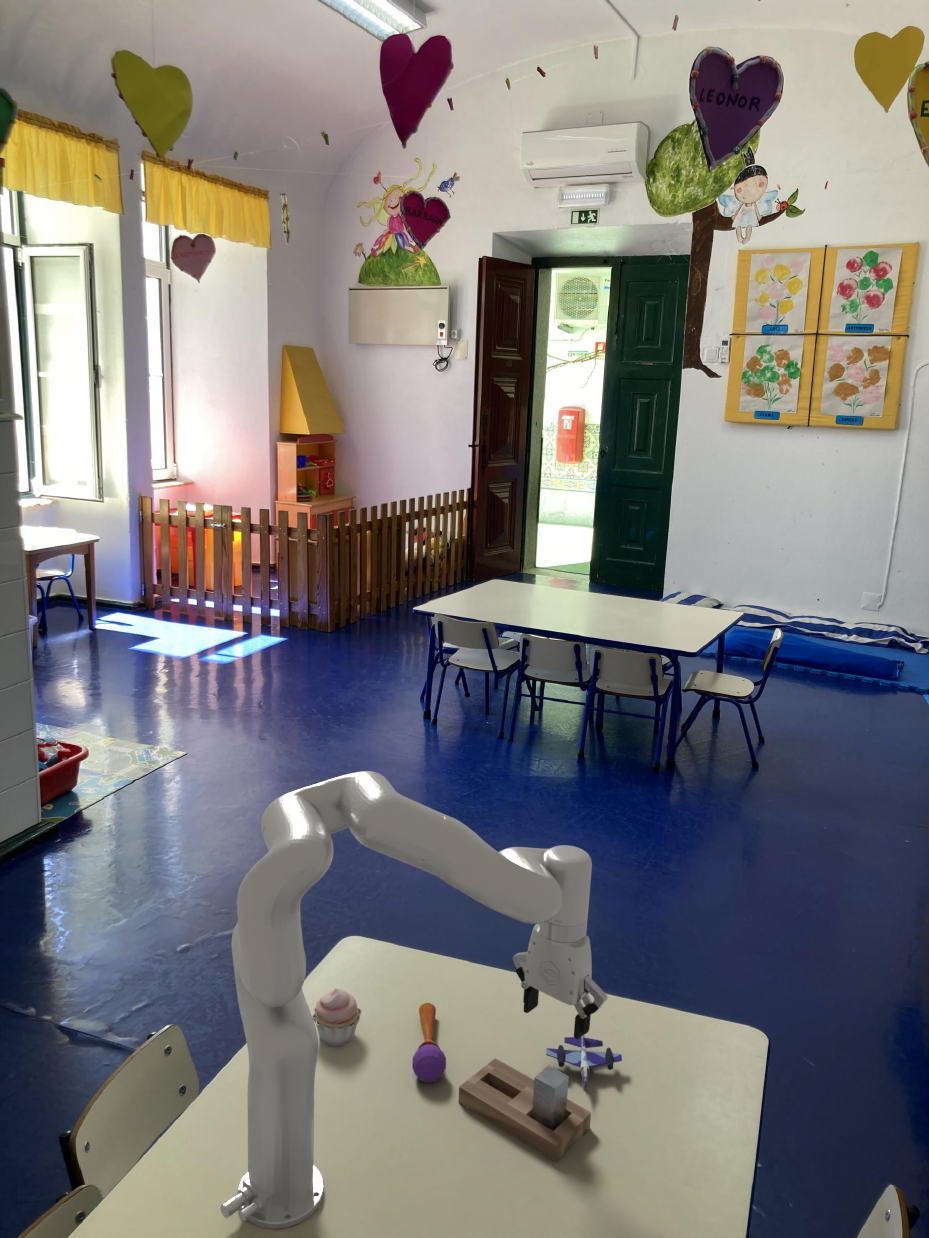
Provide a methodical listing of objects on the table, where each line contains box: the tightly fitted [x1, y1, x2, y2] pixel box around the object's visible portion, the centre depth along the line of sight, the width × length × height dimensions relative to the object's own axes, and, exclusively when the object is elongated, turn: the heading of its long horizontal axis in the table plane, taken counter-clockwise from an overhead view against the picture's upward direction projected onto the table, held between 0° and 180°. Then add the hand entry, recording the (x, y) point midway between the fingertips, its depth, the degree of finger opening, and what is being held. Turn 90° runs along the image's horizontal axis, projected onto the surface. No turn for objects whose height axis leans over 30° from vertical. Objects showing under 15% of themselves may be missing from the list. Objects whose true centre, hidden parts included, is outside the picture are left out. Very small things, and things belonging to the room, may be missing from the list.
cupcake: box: [311, 987, 363, 1047], centre depth 180 cm, size 9×9×10 cm
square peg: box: [532, 1064, 570, 1131], centre depth 159 cm, size 4×4×10 cm
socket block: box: [458, 1057, 592, 1163], centre depth 162 cm, size 10×20×3 cm, turn 51°
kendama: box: [412, 1002, 447, 1083], centre depth 177 cm, size 6×6×20 cm
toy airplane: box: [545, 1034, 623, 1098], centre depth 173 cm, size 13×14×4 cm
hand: (555, 1021), depth 155 cm, fingers open, 9 cm apart
